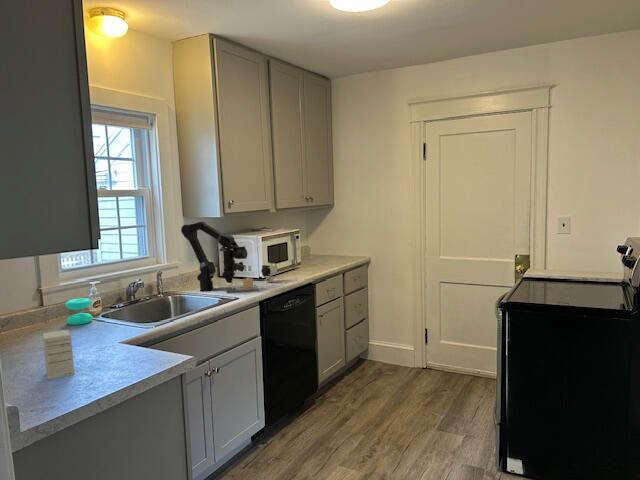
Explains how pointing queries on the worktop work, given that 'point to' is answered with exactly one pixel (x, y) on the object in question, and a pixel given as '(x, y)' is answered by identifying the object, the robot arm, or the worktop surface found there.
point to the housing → (248, 283)
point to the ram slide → (229, 285)
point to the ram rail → (230, 289)
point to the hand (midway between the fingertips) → (230, 286)
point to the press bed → (248, 289)
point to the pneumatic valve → (269, 271)
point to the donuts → (80, 317)
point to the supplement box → (58, 354)
